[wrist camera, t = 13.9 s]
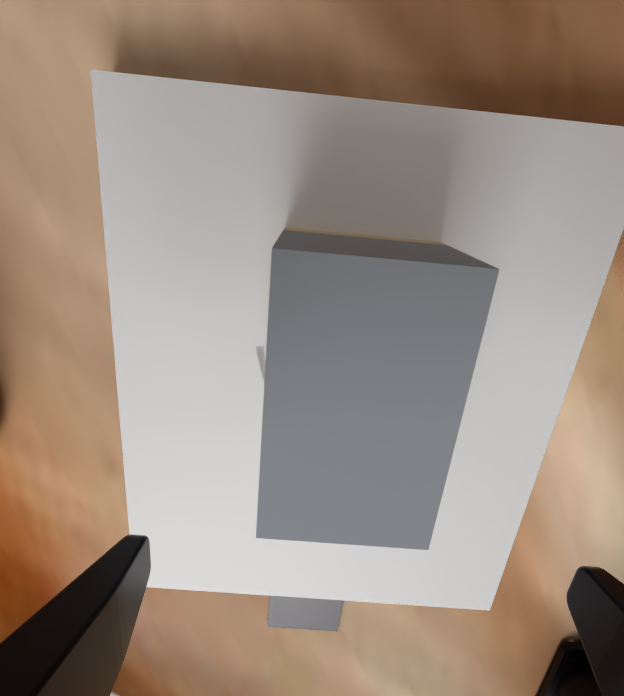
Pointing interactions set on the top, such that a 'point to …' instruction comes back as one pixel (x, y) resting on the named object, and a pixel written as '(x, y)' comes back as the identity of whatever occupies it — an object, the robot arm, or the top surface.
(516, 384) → the board
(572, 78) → the top surface
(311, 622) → the graphite chip
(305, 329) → the block
